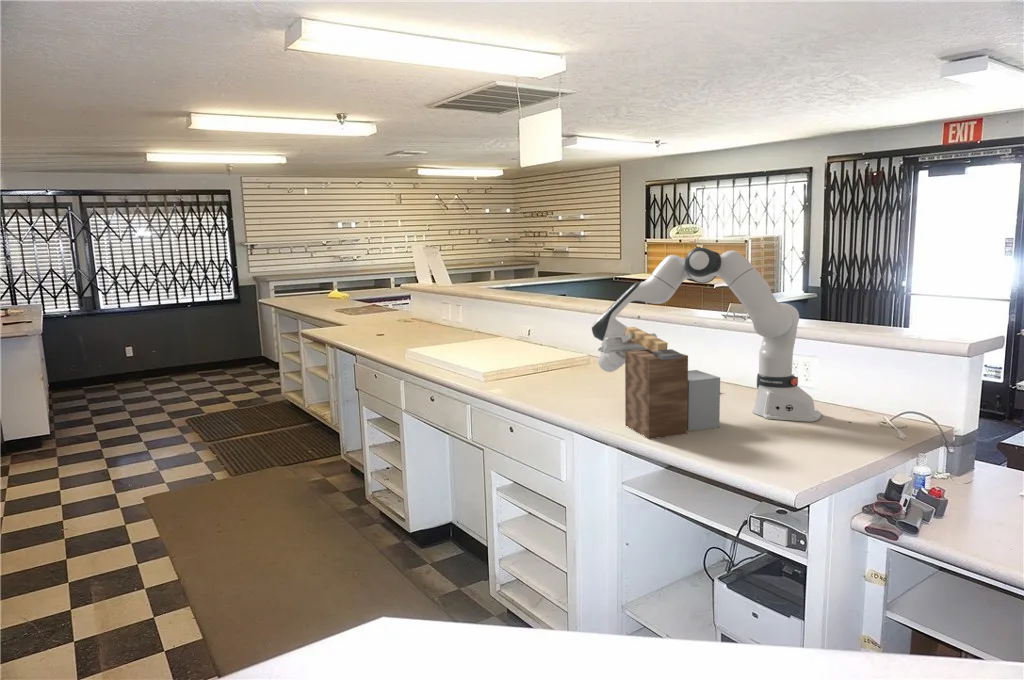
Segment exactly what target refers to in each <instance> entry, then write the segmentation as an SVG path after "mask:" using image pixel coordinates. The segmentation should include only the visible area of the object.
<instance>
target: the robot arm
mask: <svg viewBox="0 0 1024 680" xmlns="http://www.w3.org/2000/svg"><path fill="white" fill-rule="evenodd" d="M716 277H717V278H719V279H721V280H722V281H723V282H724V283H725V284H726V285H727V287H728V288H729V289H730V290H731V292H732V293H733V294H734V295H735V297H736V298H737V299H738V300H739V302H740V303H741V304H742V306H743V307H744V309H745V311H746V313H747V314H748V317H749V318H750V321H751V322H752V325H753V329H754V331H755V332H756V334H758V335H759V336H761V337H763V338H762V343H761V345H760V349H759V352H758V373H757V376H756V389H757V391H756V398H755V402H754V405H753V409H752V412H753V414H755V415H757V416H760V417H763V418H765V419H766V420H767V419H768V420H777V421H778V420H779V421H795V422H810V423H811V422H816V421H817V422H818V421H819V420H820V419H821V418H822V412H821V411H820V410H818V409H816V408H815V402H814V399H813V397H812V396H811V395H810V394H809V393H808V392H806V391H805V390H803V388H801V387H800V386H799V384H798V383H799V376H795V375H794V374H793V355H794V348H795V344H796V337H797V334H798V333H797V332H798V325H799V321H800V314H799V311H798V309H797V308H796V307H795V306H793V305H792V304H788V303H785V302H780V303H779V302H778V300H777V299H776V297H775V296H774V294H773V292H772V290H771V287H770V285H769V283H768V282H767V280H765V278H763V277H764V276H762V275H761V274H760V272H759V271H758V270H757V269H756V267H754V265H753V264H752V263H751V262H750V261H749V260H748V259H747V258H746V257H745V256H744V255H742V254H741V253H740V252H739V251H737V250H734V249H732V250H728V251H725V252H723V253H722V254H720V253H719V252H717V251H713V250H712V249H708V248H706V247H695V248H694V249H691V250H690V251H689V252H688V253H687V254H686V256H685V258H683V257H681V256H679V255H677V254H670V255H669V254H668V255H667V256H666V257H664V258H663V260H661V262H660V263H659V264H658V265H657V266H656V268H654V270H653V271H652V273H651V274H650V275H649V277H648V278H646V280H644V281H642V282H638V281H637V282H635V283H634V284H632V285H631V286H629V287H628V289H626V291H624V292H623V293H621V295H620V296H619V297H618V299H616V300H615V301H614V302H613V303H612V304H611V306H610V307H608V308H607V310H605V312H603V313H602V314H601V315H599V316H598V317H597V318H596V319H595V320H594V322H593V323H592V326H591V332H592V335H593V337H594V338H595V339H597V340H599V341H601V344H600V345H601V346H600V347H599V348H598V349H597V351H598V352H600V355H599V356H598V360H597V363H598V365H599V368H600V369H601V370H603V371H604V372H606V373H613V372H615V371H617V370H619V369H620V368H621V367H623V365H624V364H625V351H635V350H646V349H647V348H645V347H643V346H641V345H639V344H637V343H635V342H633V341H632V340H630V339H633V338H634V333H629V334H628V335H625V333H626V328H627V327H628V326H626V325H625V324H623V323H622V322H620V321H618V320H617V316H618V315H619V314H620V313H621V312H622V311H623V310H624V308H626V307H627V306H628V305H629V304H630V303H632V302H635V301H637V302H639V301H640V302H643V303H649V304H653V305H654V304H655V305H659V304H660V305H661V304H664V303H666V302H668V301H669V300H670V299H671V298H672V296H674V294H675V293H676V291H677V290H678V288H679V287H680V285H681V284H682V283H683V282H684V281H686V280H687V281H690V282H694V283H696V284H702V285H704V284H708V283H710V282H712V281H714V280H715V279H716ZM650 334H651V335H653V336H655V337H657V338H658V335H657V334H656V333H654V332H653V333H650Z"/></svg>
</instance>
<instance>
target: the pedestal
mask: <svg viewBox="0 0 1024 680" xmlns="http://www.w3.org/2000/svg"><path fill="white" fill-rule="evenodd" d="M681 354H682V358H676V359H666V360H662V359H660V358H658V357H656V356H654V355H653V352H652V351H651V350H649V349H646V350H635V351H625V363H624V364H625V365H624V366H625V369H624V370H625V371H624V373H625V374H624V375H625V376H624V377H625V383H624V384H625V387H624V390H625V392H624V393H625V394H624V395H625V403H624V404H625V407H624V409H625V412H624V413H625V415H624V416H625V425H626V426H628V427H629V428H628V427H627V428H628V429H630V428H631V429H630V430H632V429H633V430H635V431H636V432H635V431H634V432H635V433H637V432H638V434H639V433H640V434H639V435H641V434H642V435H644V436H645V438H646V437H647V438H646V439H648V438H654V439H658V438H657V437H661V438H667V437H666V436H669V437H674V436H675V435H676V436H682V435H683V434H684V435H688V431H687V405H688V371H689V355H687V354H685V353H681ZM626 426H625V427H626ZM633 430H632V431H633ZM642 435H641V436H642ZM684 435H683V436H684ZM644 436H643V437H644ZM676 436H675V437H676Z"/></svg>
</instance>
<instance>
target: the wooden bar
mask: <svg viewBox="0 0 1024 680" xmlns="http://www.w3.org/2000/svg"><path fill="white" fill-rule="evenodd" d="M626 327H627V328H626V333H625V335H628V334H629V333H634V338H633V339H630V340H632V341H633V342H635V343H637V344H639V345H641V346H643V347H645V348H647V349H649V350H651V351H652V352H653V355H654V356H656V357H658V358H660V359H662V360H666V359H676V358H682V354H683V353H681V352H678V350H677V351H676V350H674V349H668V345H669V344H668V342H667V341H665V340H663V339H660V338H658V336H657V337H655V336H653V335H651V334H652V333H648V332H647V331H644V330H643V329H640V328H638V327H636V326H629V327H628V326H626Z"/></svg>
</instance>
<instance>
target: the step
mask: <svg viewBox="0 0 1024 680" xmlns="http://www.w3.org/2000/svg"><path fill="white" fill-rule="evenodd" d="M720 406H721V377H720V376H717V375H713V374H710V373H707V372H704V371H700V370H697V369H693V370H692V369H691V370H688V405H687V432H693V431H701V430H706V429H708V430H709V429H714V428H720V417H721V416H720V413H721V412H720V411H721V409H720V408H721V407H720Z"/></svg>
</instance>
